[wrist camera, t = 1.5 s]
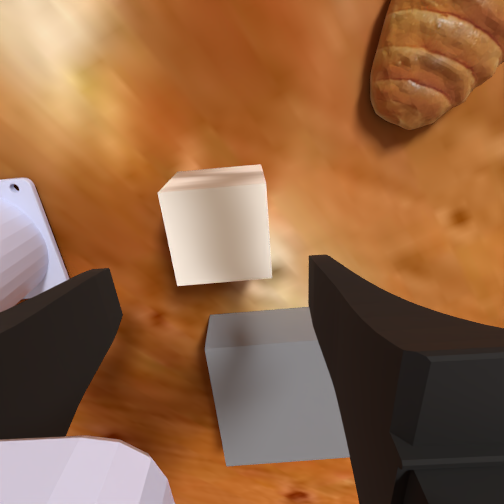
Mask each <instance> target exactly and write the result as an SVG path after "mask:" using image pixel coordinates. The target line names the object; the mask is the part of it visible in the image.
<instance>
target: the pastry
mask: <svg viewBox="0 0 504 504" xmlns="http://www.w3.org/2000/svg"><path fill="white" fill-rule="evenodd" d="M503 62H504V0H391V2H390V5H389V8H388V11H387V14H386V17H385V21H384V25H383V28H382V31H381V36H380V40H379V44H378V47H377V51H376V54H375V58H374V61H373V65H372V69H371V74H370V99H371V103H372V106H373V108H374V111H375V112H376V114H377V115H378V116H380V117H381V118H383V119H384V120H386V121H388V122H390V123H393V124H396V125H398V126H400V127H402V128H404V129H407V130H412V129H416V128H418V127H423V126H425V125H429V124H432V123H434V122H435V121H436V120H438V119H439V118H440V117H441V116H442V115H443V114H444V113H446V112H447V111H448V110H449V109H451V108H453V107H455V106H457V105H460V104H461V103H463V102H464V101H465V100H466V99H467V97H468V95H469V94H470V92H471V91H472V90H473V89H474V88H475V87H477V86H479V85H481V84H482V83H484V82H485V81H486V80H488V79H489V78H490V77H492V75H493V74H494V73H495V71H496V68H497V67H498V66H499V65H500V64H501V63H503Z"/></svg>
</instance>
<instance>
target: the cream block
mask: <svg viewBox="0 0 504 504" xmlns="http://www.w3.org/2000/svg"><path fill="white" fill-rule="evenodd" d="M158 197H159V201H160V206H161V211H162V216H163V220H164V225H165V230H166V235H167V239H168V244H169V249H170V254H171V258H172V263H173V268H174V273H175V277H176V282H177V286H184V285H196V284H208V283H220V282H232V281H244V280H256V279H268V278H272V267H271V252H270V236H269V221H268V205H267V190H266V181H265V177H264V174H263V170H262V166H261V164H260V165H248V166H237V167H226V168H215V169H203V170H192V171H181V172H177V173H176V174H175V175H174V176H173V177H172V178H171V179H170V180H169V181H168V182H167V184H166V185H165V186H164V187H163V188H162V189H161V190H160V191H159V192H158Z"/></svg>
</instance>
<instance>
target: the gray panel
mask: <svg viewBox="0 0 504 504" xmlns="http://www.w3.org/2000/svg"><path fill="white" fill-rule="evenodd" d="M205 354H206V359H207V365H208V370H209V375H210V381H211V386H212V391H213V397H214V402H215V407H216V413H217V418H218V423H219V429H220V434H221V440H222V445H223V450H224V456H225V461H226V466H237V465H251V464H265V463H278V462H292V461H305V460H319V459H333V458H346V457H350V455H349V450H348V446H347V441H346V437H345V432H344V428H343V423H342V419H341V414H340V410H339V406H338V402H337V397H336V393H335V390H334V386H333V383H332V380H331V377H330V374H329V371H328V368H327V365H326V362H325V360H324V357H323V354H322V351H321V348H320V345H319V343H318V340H317V337H316V334H315V331H314V328H313V324H312V319H311V314H310V309H309V307H302V308H289V309H277V310H265V311H253V312H240V313H228V314H216V315H210V319H209V325H208V331H207V337H206V343H205Z"/></svg>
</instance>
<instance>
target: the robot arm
mask: <svg viewBox="0 0 504 504" xmlns="http://www.w3.org/2000/svg"><path fill="white" fill-rule="evenodd" d="M14 184H16V185H17V186H18V187H19V191H18V190H16V189H15V187H14ZM29 298H30V299H29ZM21 299H28V300H26V301H24V302H22V303H20V304H17V303H18V302H19V301H20V300H21ZM16 304H17V305H16ZM309 309H310V314H311V319H312V324H313V328H314V331H315V334H316V337H317V340H318V343H319V345H320V348H321V351H322V354H323V357H324V360H325V362H326V365H327V368H328V371H329V374H330V377H331V380H332V383H333V386H334V390H335V393H336V397H337V402H338V406H339V410H340V414H341V419H342V423H343V428H344V432H345V437H346V441H347V446H348V450H349V455H350V460H351V464H352V469H353V474H354V479H355V484H356V488H357V493H358V498H359V504H504V328H499V327H494V326H489V325H484V324H480V323H476V322H472V321H468V320H464V319H460V318H457V317H453V316H450V315H446V314H443V313H440V312H437V311H434V310H431V309H428V308H425V307H422V306H419V305H417V304H414V303H412V302H409V301H407V300H404V299H402V298H400V297H398V296H395V295H393V294H391V293H389V292H387V291H385V290H383V289H381V288H379V287H377V286H375V285H374V284H372V283H370V282H368V281H367V280H365V279H363V278H362V277H360V276H358V275H357V274H355V273H354V272H352V271H350V270H349V269H347V268H346V267H344V266H343V265H342V264H340V263H339V262H337V261H336V260H334V259H333V258H331V257H330V256H328V255H312V256H309ZM122 316H123V314H122V311H121V307H120V304H119V300H118V297H117V293H116V290H115V286H114V283H113V280H112V276H111V273H110V269H109V268H105V269H92V270H89V271H86V272H84V273H81V274H79V275H77V276H75V277H73V278H70V279H69V276H68V274H67V271H66V268H65V266H64V263H63V260H62V258H61V255H60V252H59V249H58V247H57V244H56V241H55V239H54V236H53V233H52V231H51V228H50V225H49V223H48V220H47V217H46V214H45V212H44V209H43V206H42V204H41V201H40V198H39V196H38V193H37V190H36V188H35V185H34V183H33V182H32V181H31V180H30V179H28V178H13V179H2V180H0V504H175V502H174V499H173V496H172V493H171V489H170V486H169V483H168V479H167V478H166V477H165V475H164V474H163V472H162V471H161V470H160V468H159V467H158V466H157V464H156V463H155V462H154V460H153V459H152V458H151V457H150V455H149V454H148V453H146V452H144V451H142V450H140V449H138V448H136V447H134V446H132V445H130V444H128V443H126V442H124V441H122V440H119V439H111V438H103V437H94V436H86V435H85V436H66V434H67V431H68V429H69V427H70V424H71V422H72V419H73V417H74V415H75V412H76V410H77V408H78V405H79V403H80V401H81V399H82V397H83V395H84V393H85V391H86V389H87V388H88V386H89V384H90V382H91V380H92V379H93V377H94V375H95V373H96V371H97V370H98V368H99V366H100V364H101V362H102V360H103V359H104V357H105V355H106V353H107V351H108V349H109V348H110V346H111V344H112V342H113V340H114V338H115V335H116V333H117V330H118V328H119V325H120V322H121V319H122Z"/></svg>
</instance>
